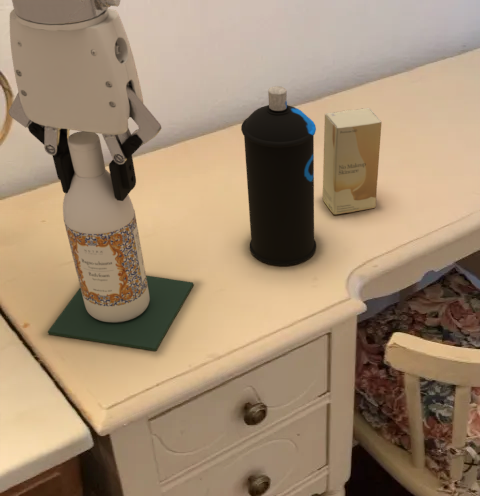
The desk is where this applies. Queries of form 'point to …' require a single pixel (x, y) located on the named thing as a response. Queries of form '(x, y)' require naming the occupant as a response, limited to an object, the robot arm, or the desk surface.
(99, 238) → the bath foam
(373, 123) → the cosmetic box
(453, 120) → the desk surface
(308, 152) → the aerosol can
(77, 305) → the mat
